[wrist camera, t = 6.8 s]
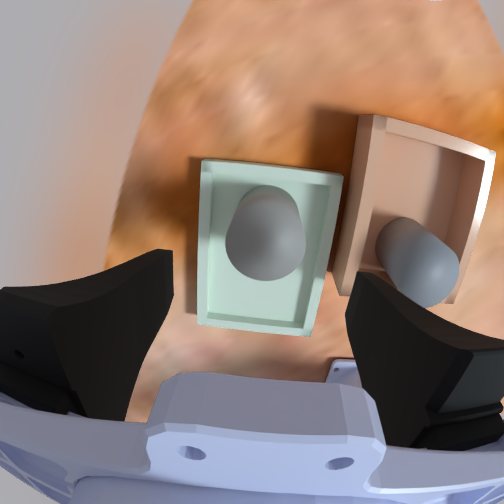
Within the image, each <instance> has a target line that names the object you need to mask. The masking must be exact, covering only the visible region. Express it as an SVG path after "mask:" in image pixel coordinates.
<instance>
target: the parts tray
mask: <svg viewBox="0 0 504 504" xmlns="http://www.w3.org/2000/svg"><path fill="white" fill-rule="evenodd" d="M343 179H344V176H342V175H341V174H340V173H334V172H328V171H321V170H314V169H307V168H299V167H291V166H283V165H275V164H265V163H256V162H246V161H234V160H222V159H208V158H205V159H204V160H202V161H201V178H200V199H199V225H198V266H197V324H199V325H206V326H214V327H221V328H229V329H237V330H245V331H254V332H264V333H273V334H284V335H295V336H307V337H311V334H312V330H313V326H314V322H315V318H316V314H317V309H318V305H319V301H320V297H321V292H322V288H323V283H324V279H325V274H326V270H327V265H328V260H329V255H330V251H331V246H332V241H333V235H334V230H335V225H336V220H337V214H338V209H339V203H340V197H341V191H342V185H343ZM264 185H271V186H276V187H279V188H281V189H283V190H285V191H286V192H288V193H289V194H290V195H291V196H292V197H293V199H294V200H295V202H296V204H297V207H298V211H299V215H300V219H301V223H302V226H303V230H304V234H305V240H306V249H305V254H304V257H303V259H302V261H301V263H300V264H299V265H298V267H297V268H296V269H295V270H294V271H293V272H292V273H290V274H289V275H287V276H285V277H283V278H281V279H277V280H273V281H259V280H254V279H251V278H249V277H247V276H245V275H243V274H242V273H240V272H239V271H238V270H237V269H236V268H235V267H234V266H233V265H232V263H231V262H230V260H229V258H228V256H227V253H226V248H225V239H226V234H227V231H228V228H229V226H230V223H231V221H232V219H233V216H234V214H235V211H236V209H237V207H238V204H239V202H240V200H241V199H242V197H243V196H244V195H245V194H246V193H247V192H248V191H250V190H251V189H253V188H256V187H259V186H264Z"/></svg>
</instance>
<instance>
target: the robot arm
mask: <svg viewBox="0 0 504 504" xmlns="http://www.w3.org/2000/svg"><path fill="white" fill-rule="evenodd" d="M173 296H174V287H173V251H172V250H164V249H155V250H152V251H150V252H147V253H145V254H143V255H140V256H138V257H136V258H134V259H132V260H129V261H127V262H125V263H123V264H120V265H118V266H115V267H113V268H110V269H108V270H105V271H103V272H100V273H97V274H94V275H91V276H87V277H84V278H80V279H76V280H72V281H67V282H62V283H57V284H50V285H41V286H29V287H28V286H27V287H3V288H2V289H1V290H0V466H1V467H2V468H4V469H5V470H7V471H8V472H9V473H11V474H13V475H14V476H15V477H17V478H18V479H20V480H21V481H23V482H24V483H26V484H27V485H29V486H31V487H32V488H34V489H35V490H37V491H39V492H40V493H42V494H44V495H46V496H47V497H49V498H51V499H53V500H54V501H56V502H58V503H60V504H497V503H499V502H501V501H503V500H504V420H502V418H501V416H500V414H499V413H501V412H502V411H503V408H504V407H503V405H502V404H501V402H500V401H501V399H502V398H503V397H504V340H502V339H498V338H493V337H489V336H486V335H482V334H479V333H476V332H473V331H470V330H468V329H465V328H463V327H460V326H458V325H456V324H453V323H451V322H449V321H447V320H445V319H443V318H441V317H439V316H437V315H435V314H433V313H432V312H430V311H428V310H426V309H425V308H423V307H422V306H420V305H418V304H417V303H415V302H414V301H412V300H411V299H409V298H408V297H407V296H405V295H404V294H402V293H401V292H400V291H398V290H397V289H395V288H394V287H393V286H391V285H390V284H389V283H387V282H386V281H384V280H383V279H381V278H380V277H378V276H377V275H375V274H373V273H370V272H361V271H357V273H356V276H355V280H354V284H353V288H352V291H351V295H350V299H349V302H348V306H347V309H346V312H345V319H346V327H347V333H348V338H349V341H350V345H351V348H352V352H353V355H354V358H355V360H349V359H336V360H334V361H333V362H332V365H331V368H330V370H329V373H328V376H327V379H326V382H325V383H320V382H301V381H287V380H274V379H263V378H254V377H245V376H236V375H228V374H221V373H214V372H192V373H179V374H177V375H175V376H174V377H172V378H170V379H168V380H166V381H164V382H162V384H161V387H160V390H159V392H158V395H157V398H156V400H155V403H154V406H153V408H152V411H151V414H150V416H149V419H148V422H147V423H139V422H124V420H125V417H126V413H127V409H128V405H129V402H130V398H131V395H132V392H133V389H134V386H135V382H136V380H137V377H138V374H139V371H140V368H141V365H142V363H143V361H144V358H145V356H146V354H147V352H148V350H149V348H150V346H151V344H152V343H153V341H154V339H155V337H156V335H157V333H158V331H159V329H160V327H161V326H162V324H163V322H164V320H165V318H166V316H167V314H168V311H169V308H170V305H171V302H172V299H173ZM335 368H337V369H335Z"/></svg>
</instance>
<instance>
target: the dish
mask: <svg viewBox="0 0 504 504" xmlns="http://www.w3.org/2000/svg"><path fill="white" fill-rule="evenodd" d="M495 156H496V152H494V151H492V150H489V149H487V148H484V147H482V146H479V145H476V144H474V143H471V142H468V141H465V140H463V139H460V138H457V137H454V136H451V135H448V134H445V133H442V132H439V131H436V130H432V129H429V128H426V127H422V126H419V125H415V124H412V123H408V122H404V121H401V120H397V119H393V118H389V117H385V116H380V115H376V114H364V115H359V116H358V124H357V132H356V139H355V147H354V154H353V160H352V167H351V173H350V180H349V186H348V191H347V197H346V203H345V208H344V214H343V219H342V224H341V230H340V235H339V240H338V245H337V249H336V254H335V259H334V263H333V268H332V275H333V278H334V281H335V284H336V287H337V290H338V293H339V296H349V297H350V295H351V291H352V288H353V284H354V280H355V276H356V273H357V271H361V272H370V273H373V274H375V275H377V276H378V277H380V278H381V279H383V280H384V281H386V282H387V283H389V284H390V285H391V286H393V287H394V288H395V289H397V290H398V288H397V287H396V285H395V284H394V282H393V281H392V279H391V278H390V277H389V275H388V274H387V272H386V271H385V269H384V268H383V266H382V265H381V264H380V262H379V261H378V259H377V256H376V252H375V245H376V240H377V237H378V235H379V233H380V231H381V230H382V229H383V227H384V226H385V225H387V224H388V223H389V222H391V221H392V220H394V219H397V218H403V217H405V218H411V219H413V220H415V221H417V222H418V223H419V224H421V225H422V226H423V227H424V228H426V229H427V230H428V231H429V232H431V233H432V234H433V235H434V236H436V237H437V238H438V239H439V240H441V241H442V242H443V243H444V244H445V245H447V246H448V247H449V248H450V249H451V250H452V251H453V252H454V253H455V254H456V256H457V258H458V260H459V267H460V270H459V277H458V280H457V282H456V285H455V287H454V288H453V290H452V291H451V293H450V294H449V295H448V296H447V297H446V298H445V299H444V300H443V301H441V302H440V303H445V304H453V303H454V301H455V298H456V296H457V293H458V291H459V288H460V285H461V283H462V280H463V277H464V275H465V272H466V269H467V266H468V263H469V260H470V257H471V254H472V251H473V248H474V245H475V242H476V238H477V235H478V232H479V228H480V225H481V221H482V217H483V213H484V209H485V205H486V201H487V197H488V192H489V188H490V183H491V178H492V173H493V167H494V162H495ZM398 291H399V290H398Z"/></svg>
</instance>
